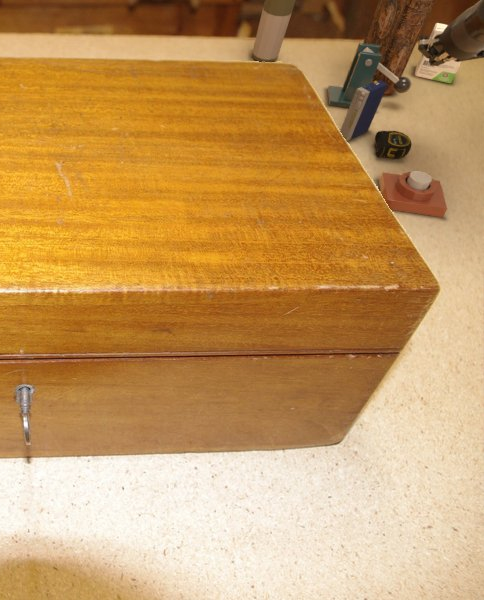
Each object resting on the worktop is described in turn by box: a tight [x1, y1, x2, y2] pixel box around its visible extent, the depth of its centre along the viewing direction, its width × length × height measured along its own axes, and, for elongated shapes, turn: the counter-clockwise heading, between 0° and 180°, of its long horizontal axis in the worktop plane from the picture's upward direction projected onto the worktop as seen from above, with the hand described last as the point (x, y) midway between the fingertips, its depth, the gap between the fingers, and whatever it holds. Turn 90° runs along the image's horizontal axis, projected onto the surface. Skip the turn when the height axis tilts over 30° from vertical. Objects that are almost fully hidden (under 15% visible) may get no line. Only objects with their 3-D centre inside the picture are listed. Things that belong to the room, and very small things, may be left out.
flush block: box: [378, 171, 448, 218], centre depth 138 cm, size 11×9×4 cm
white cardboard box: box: [414, 22, 463, 84], centre depth 168 cm, size 9×5×12 cm, turn 64°
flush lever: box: [358, 47, 412, 94], centre depth 157 cm, size 14×4×4 cm, turn 77°
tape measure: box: [374, 130, 412, 160], centre depth 149 cm, size 7×7×4 cm
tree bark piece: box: [362, 0, 436, 97], centre depth 162 cm, size 16×6×25 cm, turn 175°
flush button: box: [406, 170, 433, 190], centre depth 136 cm, size 4×4×2 cm
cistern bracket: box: [327, 42, 382, 109], centre depth 159 cm, size 10×7×13 cm
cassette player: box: [339, 80, 388, 142], centre depth 150 cm, size 7×2×12 cm, turn 123°
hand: (434, 60), depth 143 cm, fingers closed
